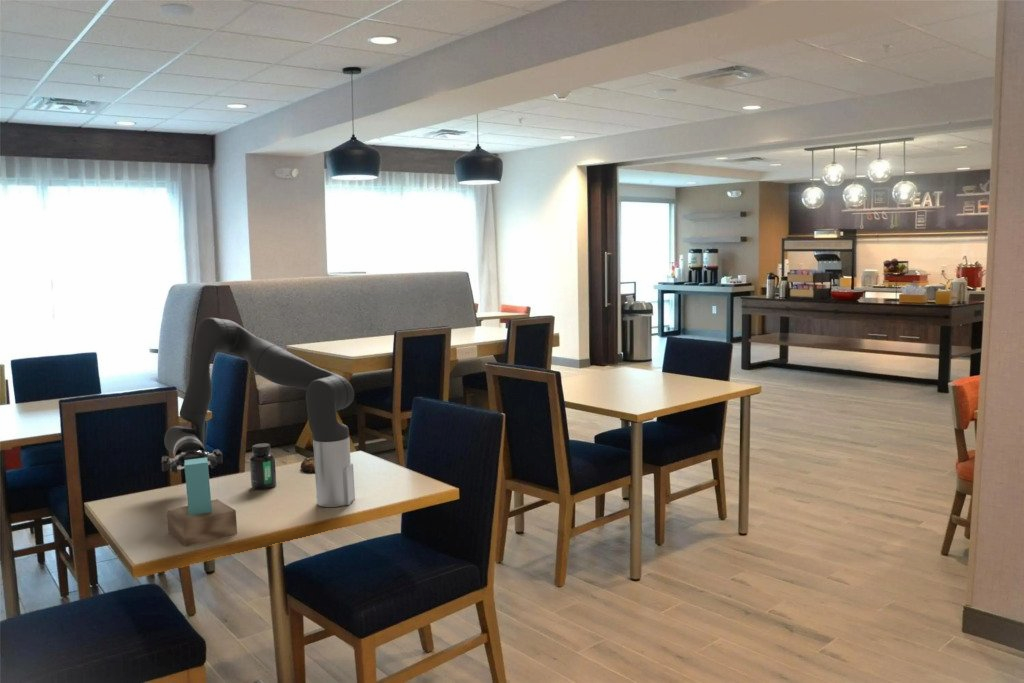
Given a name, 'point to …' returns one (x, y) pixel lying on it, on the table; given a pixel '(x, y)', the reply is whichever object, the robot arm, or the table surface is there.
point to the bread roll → (308, 465)
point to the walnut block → (202, 524)
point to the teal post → (198, 486)
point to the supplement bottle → (262, 467)
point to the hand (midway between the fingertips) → (194, 466)
